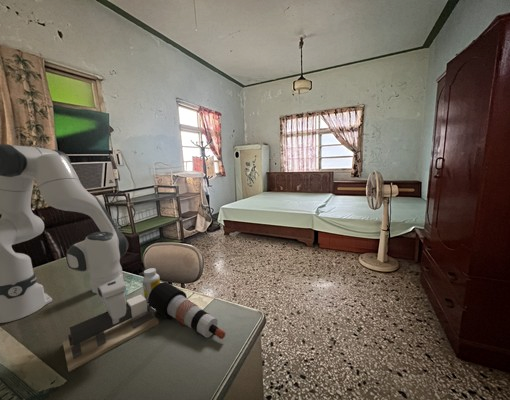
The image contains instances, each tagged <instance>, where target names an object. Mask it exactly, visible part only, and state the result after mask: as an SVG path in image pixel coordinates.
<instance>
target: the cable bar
mask: <svg viewBox="0 0 510 400" xmlns="http://www.w3.org/2000/svg"><path fill="white" fill-rule="evenodd" d="M147 303H148V302H147V301H146V299H145V297H144V295H142V293H140V294H138V295H136V296H133V297H131V298H128V299H126V314H125V316H123V317H121V318H119V322H118V323H116V324H113V323H112V319H111V317H110V315H109V313H108V312H107V311H105V312H103V313H99V314H98V315H95V316H94V317H93V316H92V318H91V317H90V318H88V319H87V320H84V321H82V322H79V323H77V324H75V325H73V326H71V327H69V330H70V331H69V332H70V334H71V337H72V342H73V346H75V345H77V344H79V343H81V342H83V341H85V340H87V339H89V338H91V337H93V336H95V335H98V334H100V333H102V332H104V331H106V330H108V329H110V328H112V327H114V326H116V325H118V324H120V323H123V322H125V321H127V320H129V319H131V318H135V317H137V316H139V315H141V314H143V313H146V312H148V310H147Z"/></svg>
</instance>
